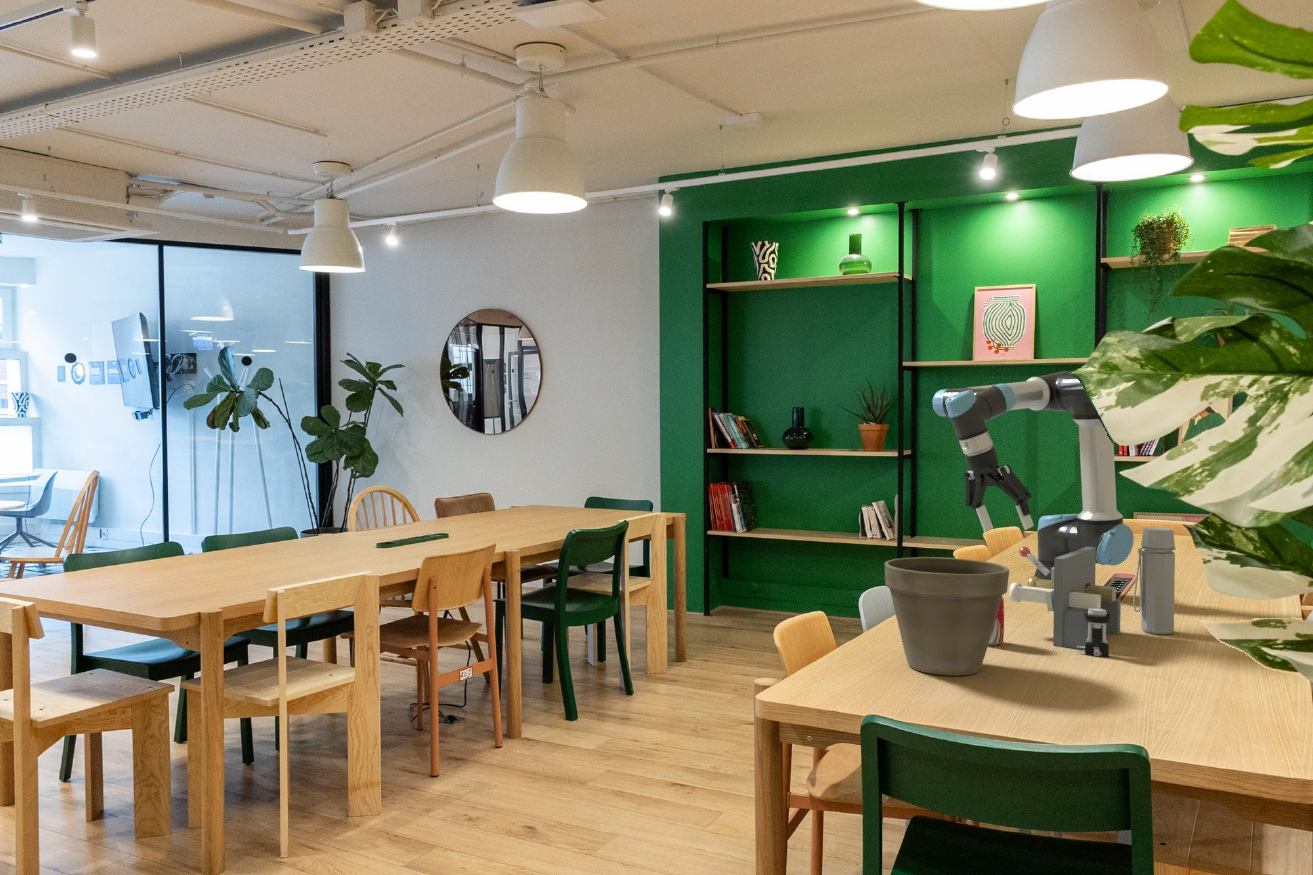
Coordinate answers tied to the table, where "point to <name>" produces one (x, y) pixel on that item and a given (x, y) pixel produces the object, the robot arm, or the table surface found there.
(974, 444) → the robot arm
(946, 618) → the plant pot
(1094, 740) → the table surface
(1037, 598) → the white plunger
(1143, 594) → the water bottle
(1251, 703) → the table surface
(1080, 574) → the panel
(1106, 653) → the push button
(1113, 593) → the brass plunger
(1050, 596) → the rocker
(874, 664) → the table surface
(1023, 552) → the toggle lever
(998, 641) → the soda can
